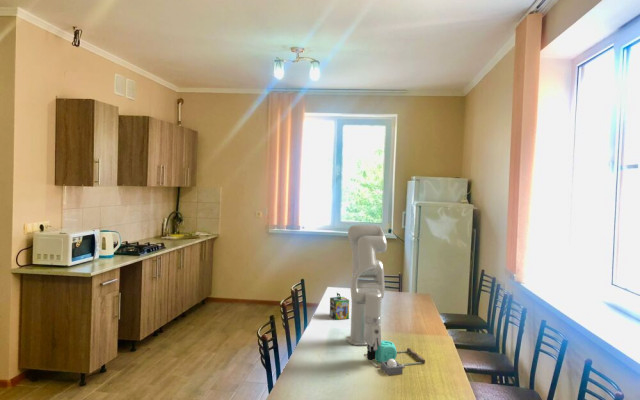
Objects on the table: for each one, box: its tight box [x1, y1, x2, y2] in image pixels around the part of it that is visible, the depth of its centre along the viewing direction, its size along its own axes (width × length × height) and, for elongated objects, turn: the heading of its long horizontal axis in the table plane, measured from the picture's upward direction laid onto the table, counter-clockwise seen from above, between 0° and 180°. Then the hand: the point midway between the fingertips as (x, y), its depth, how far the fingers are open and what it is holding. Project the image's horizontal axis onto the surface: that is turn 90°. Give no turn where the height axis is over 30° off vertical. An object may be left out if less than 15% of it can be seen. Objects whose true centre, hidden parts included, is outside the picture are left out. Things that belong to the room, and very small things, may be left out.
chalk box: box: [329, 292, 350, 321], centre depth 269 cm, size 9×9×15 cm
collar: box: [380, 359, 404, 376], centre depth 194 cm, size 7×7×3 cm
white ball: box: [387, 359, 397, 367], centre depth 194 cm, size 4×4×4 cm
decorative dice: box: [375, 340, 398, 364], centre depth 206 cm, size 8×8×8 cm
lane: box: [363, 347, 426, 369], centre depth 207 cm, size 20×24×2 cm
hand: (370, 359), depth 204 cm, fingers closed
